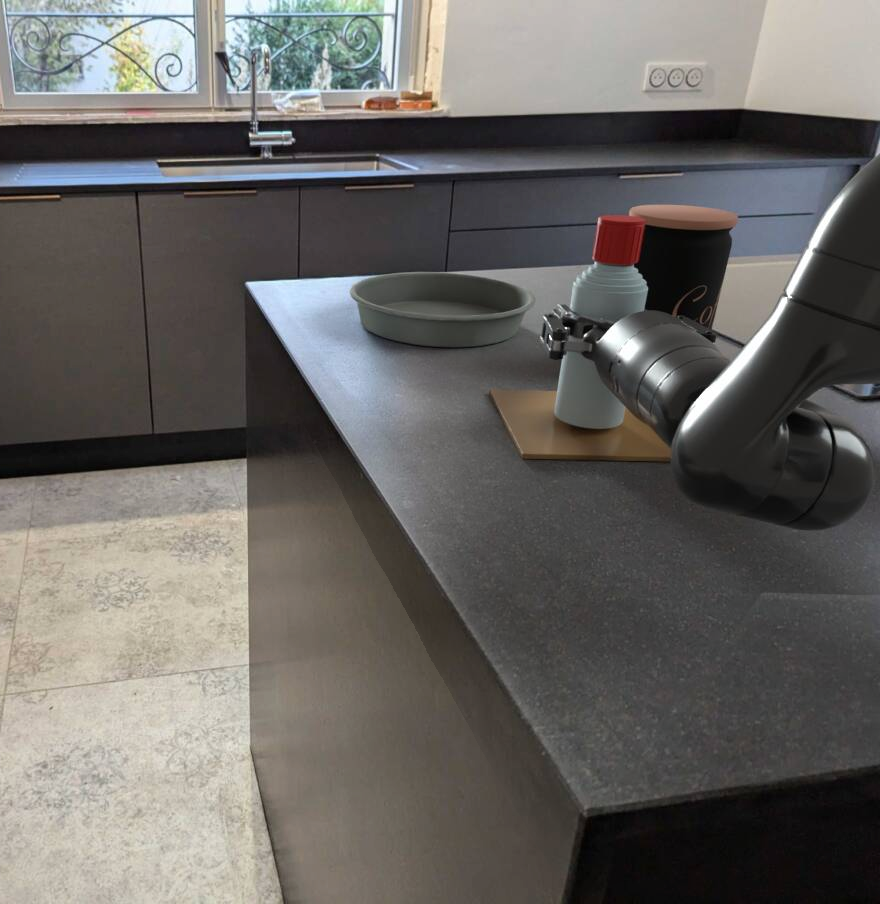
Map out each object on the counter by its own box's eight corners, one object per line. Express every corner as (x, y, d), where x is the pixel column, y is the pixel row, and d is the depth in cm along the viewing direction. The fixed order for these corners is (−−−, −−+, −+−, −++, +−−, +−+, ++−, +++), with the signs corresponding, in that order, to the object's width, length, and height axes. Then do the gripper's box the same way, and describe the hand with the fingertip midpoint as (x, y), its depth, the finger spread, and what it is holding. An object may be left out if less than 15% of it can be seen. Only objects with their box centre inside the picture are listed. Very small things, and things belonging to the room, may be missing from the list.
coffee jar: (666, 395, 89) (704, 224, 81) (582, 368, 96) (609, 210, 89) (718, 375, 94) (758, 214, 87) (634, 351, 102) (664, 201, 94)
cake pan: (564, 323, 113) (569, 290, 111) (467, 366, 97) (471, 329, 95) (416, 291, 128) (418, 262, 126) (311, 324, 112) (312, 291, 110)
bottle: (610, 405, 83) (644, 217, 76) (632, 429, 78) (671, 229, 70) (546, 403, 84) (574, 217, 76) (563, 428, 78) (595, 228, 70)
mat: (638, 396, 88) (639, 392, 88) (701, 462, 74) (702, 457, 74) (488, 394, 89) (489, 389, 89) (521, 458, 74) (522, 453, 74)
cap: (629, 256, 76) (636, 215, 75) (645, 265, 72) (653, 222, 71) (586, 255, 76) (592, 214, 75) (599, 264, 73) (606, 221, 71)
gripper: (769, 326, 62) (680, 277, 77) (576, 323, 62) (525, 275, 78) (745, 418, 65) (664, 353, 80) (561, 415, 65) (515, 351, 81)
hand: (596, 315), depth 79 cm, fingers closed on bottle, 6 cm apart
